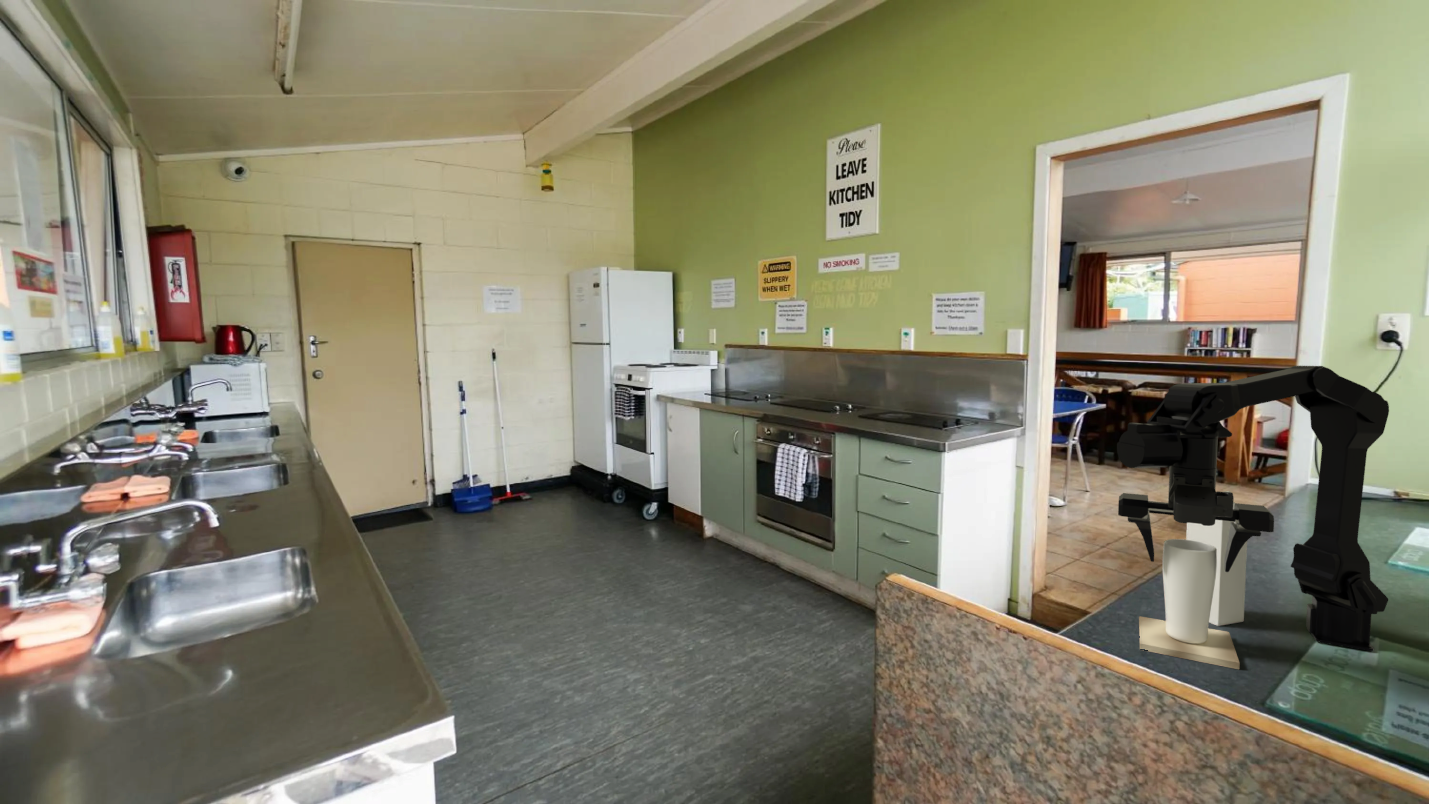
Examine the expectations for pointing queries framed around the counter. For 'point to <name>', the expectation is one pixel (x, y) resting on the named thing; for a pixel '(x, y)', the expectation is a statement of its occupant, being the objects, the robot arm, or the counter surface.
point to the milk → (1223, 573)
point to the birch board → (1188, 644)
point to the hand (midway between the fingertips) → (1188, 566)
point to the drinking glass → (1188, 588)
